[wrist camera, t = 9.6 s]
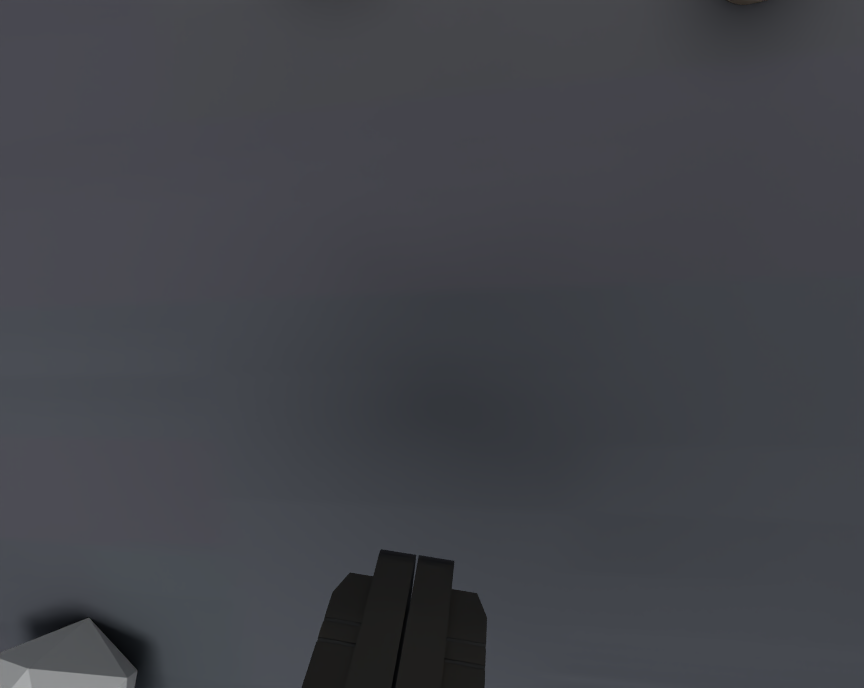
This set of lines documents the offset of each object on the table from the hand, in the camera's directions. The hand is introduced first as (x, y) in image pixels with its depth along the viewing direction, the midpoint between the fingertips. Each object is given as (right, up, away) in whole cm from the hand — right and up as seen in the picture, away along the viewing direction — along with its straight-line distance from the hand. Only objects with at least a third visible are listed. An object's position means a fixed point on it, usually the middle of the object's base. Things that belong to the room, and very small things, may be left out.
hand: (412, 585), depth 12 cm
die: (-21, -14, +26) cm, 37 cm away
